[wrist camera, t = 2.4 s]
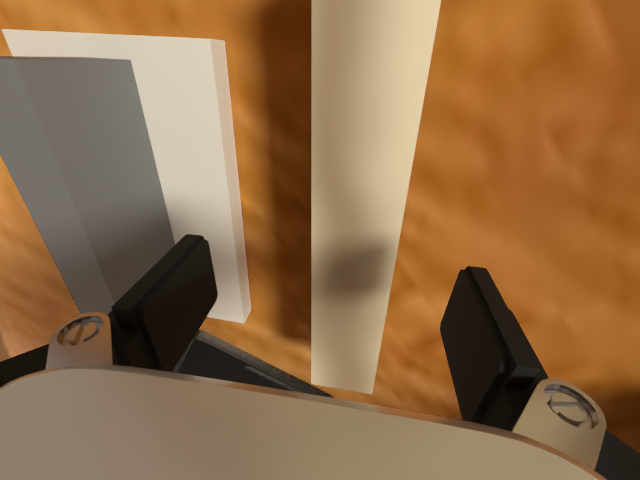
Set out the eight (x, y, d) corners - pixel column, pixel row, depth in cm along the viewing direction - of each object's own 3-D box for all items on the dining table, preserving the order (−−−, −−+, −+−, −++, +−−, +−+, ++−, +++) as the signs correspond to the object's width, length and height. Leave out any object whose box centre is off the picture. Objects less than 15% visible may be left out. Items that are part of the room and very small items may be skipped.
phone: (301, 438, 32) (169, 376, 30) (303, 427, 33) (176, 366, 31) (339, 406, 28) (190, 332, 26) (340, 395, 29) (197, 322, 27)
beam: (431, -39, 12) (456, -89, 8) (373, 334, 24) (372, 394, 19) (334, -36, 13) (311, -82, 9) (323, 327, 24) (311, 383, 20)
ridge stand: (224, 40, 15) (120, 27, 9) (251, 309, 24) (209, 390, 18) (31, 31, 16) (-171, 14, 10) (127, 289, 26) (50, 358, 20)
